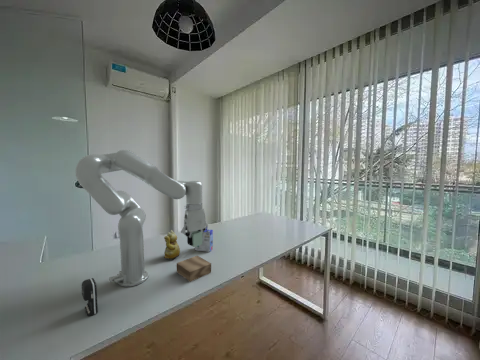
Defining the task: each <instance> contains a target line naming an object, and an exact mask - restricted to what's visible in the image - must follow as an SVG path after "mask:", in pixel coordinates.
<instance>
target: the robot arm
mask: <svg viewBox="0 0 480 360" xmlns="http://www.w3.org/2000/svg"><path fill="white" fill-rule="evenodd" d="M118 171H124V172H125V173H128V174H129V175H131V176H133V177H135V178H137V179H139V180H140V181H142V182H144V183H145V184H146V185H148V186H149V187H151V188H153V189H155V190H157V191H158V192H159V193H162V194H163V195H165V196H167V197H168V198H171V199H174V200H181V199H183V198H184V197H185V199H186V201H185V202H186V204H185V205H184V209H185V211H184V217H183V218H184V219H183V227H182V229H181V230H180V233H181V234H183V235H184V236H185V237H186V239H187V245H189V246H191V247H193V246H192V237H191V236H192V232H194V231H200V232H202V234H203V233H204V231H205V229H206V227H207V226H208V227H209V225H208V224H207V220H206V219H207V218H206V212H205V208H203V183H202V182H201V181H199V180H190V181H184V180H176V179H174V178H171V177H170V176H168V175H167V174H166V173H164V172H162V171H161V170H160V169H159V168H158V166H157V165H155V164H153V163H151V162H149V161H147V159H144V158H142V157H140V156H139V155H137V153H136V152H134V151H132V150H129V149H120V150H117V152H112V153H106V154H88V155H85V156H83V157H82V158H81V159H80V160H79V161H78V162H77V163H76V167H75V177H76V179H77V181H78V184H79V185H80V186H81V187H82V188H83V189H84V190H85V191H86V192H87V193H88V194H89V195H90V197H92V198H93V200H94V201H95V202H96V203H97V204H98V205H99V206H100V207H101V209H103V210H104V212H105V213H107V214H108V215H111V216H116V215H119V216H120V219H119V221H118V223H117V224H118V225H117V230H118V235H119V243H120V244H119V249H120V250H119V251H120V267H121V268H120V269H121V270H119V271H118V273H117V274H116V275H113V276H110V277H109V278H108V280H109V282H110V283H112V282H114V283H117V284H118V285H119V286H120V287H133V286H137V285H141V284H142V283H144V282H146V281H147V279H148V278H149V272H148V271H146V270H145V248H144V247H145V246H144V245H145V243H144V242H145V241H144V231H143V227H144V226H143V225H144V223H145V221H146V219H147V217H146V213H145V211H144V209H143V208H142V207H141V206H140V205H139V204H138V203H137V202H136V200H135V199H134V198H133V197H132V196H131V195H130V194H129V193H127V192H126V191H124V190H117V189H115V188H114V187H113V186H112V184H111V183H110V182H109V181H108V180H106V179H105V178H104V177H103V175H102V174H107V173H112V172H118ZM189 232H190V233H189Z"/></svg>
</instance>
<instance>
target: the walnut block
mask: <svg viewBox="0 0 480 360" xmlns="http://www.w3.org/2000/svg"><path fill="white" fill-rule="evenodd" d="M176 273H177V274H179V275H180V276H181V277H182V278H183V279H185V280H187V282H190V283H191V282H193V281H195V280H198V279H199V278H202V277H205V276H207V275H209V274H211V273H212V263H211V262H210V261H208V260H206V259H204V258H202V257H200V256H199V255H195V256H192V257H189V258H187V259H184V260H181V261H178V262H176Z"/></svg>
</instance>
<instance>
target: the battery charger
mask: <svg viewBox="0 0 480 360" xmlns="http://www.w3.org/2000/svg"><path fill="white" fill-rule="evenodd" d="M81 295H82V298H83V301H85V302H87V303H86V305H85V307H84V311H85V313H86V316H88V317H91V316H93V315H96V314H98V313H99V311H98V310H99V308H98V289H97V282H96V280H95V278H93V277H90V278H88V279H85V280H82V282H81Z"/></svg>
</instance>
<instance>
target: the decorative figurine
mask: <svg viewBox="0 0 480 360" xmlns="http://www.w3.org/2000/svg"><path fill="white" fill-rule="evenodd" d="M163 238H164V241H165V249H164V257H163V258H164V259H165V260H171V261H172V260H174V259H176V258H177V257H179V255H180V254H181V253H180V252H181V248H180V245H179V244H178V241H177V239H178V235H177V234H176V233H175V231H173V229H170V232H169V231H167V235H165V236H164V237H163Z"/></svg>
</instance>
